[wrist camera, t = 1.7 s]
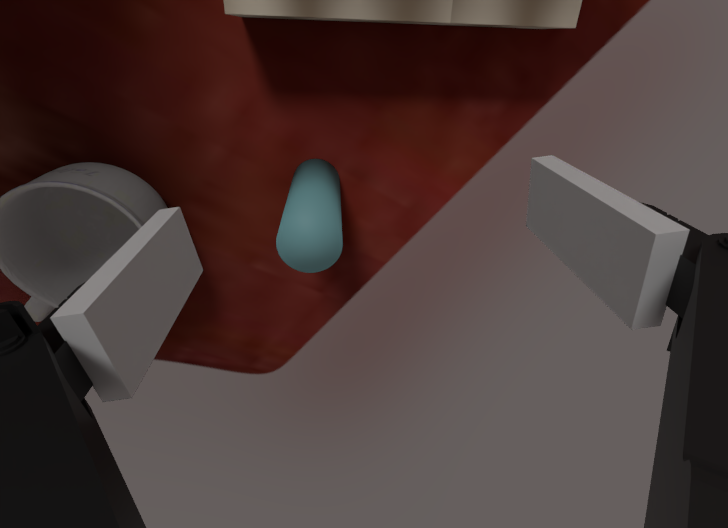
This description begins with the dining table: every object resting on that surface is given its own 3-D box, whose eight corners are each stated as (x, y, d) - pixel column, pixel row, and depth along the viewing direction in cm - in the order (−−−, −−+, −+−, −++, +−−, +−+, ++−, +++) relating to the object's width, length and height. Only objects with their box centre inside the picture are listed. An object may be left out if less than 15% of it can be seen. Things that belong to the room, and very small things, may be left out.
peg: (294, 203, 36) (278, 272, 25) (291, 158, 34) (273, 213, 23) (339, 203, 36) (342, 272, 26) (339, 159, 34) (343, 213, 24)
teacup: (114, 123, 32) (52, 148, 25) (214, 226, 36) (187, 271, 30) (3, 220, 35) (-78, 267, 28) (109, 303, 40) (62, 360, 33)
